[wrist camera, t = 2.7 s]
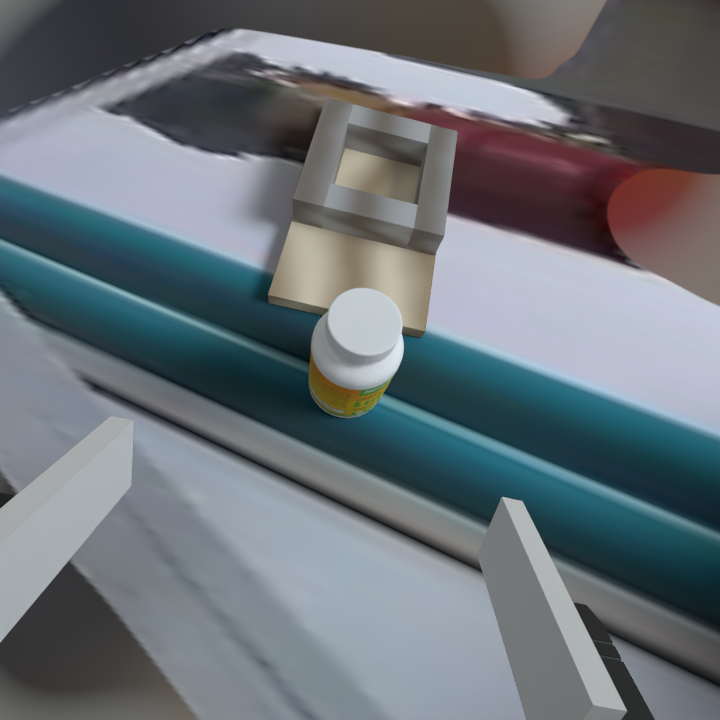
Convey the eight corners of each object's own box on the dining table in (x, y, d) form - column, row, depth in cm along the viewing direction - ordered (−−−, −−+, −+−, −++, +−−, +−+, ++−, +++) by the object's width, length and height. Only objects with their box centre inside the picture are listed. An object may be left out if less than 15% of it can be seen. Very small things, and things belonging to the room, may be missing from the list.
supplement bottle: (352, 435, 29) (376, 390, 20) (292, 387, 30) (290, 324, 21) (396, 378, 31) (436, 315, 22) (339, 335, 32) (355, 258, 23)
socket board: (448, 143, 42) (461, 108, 38) (420, 338, 33) (435, 315, 29) (329, 112, 41) (332, 74, 38) (268, 302, 32) (265, 275, 29)
